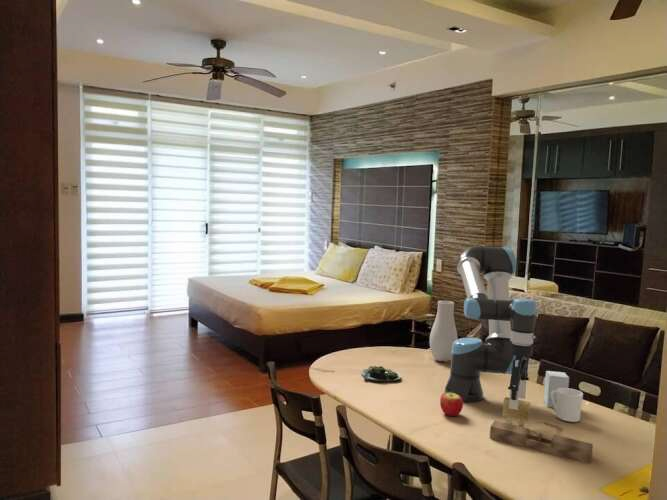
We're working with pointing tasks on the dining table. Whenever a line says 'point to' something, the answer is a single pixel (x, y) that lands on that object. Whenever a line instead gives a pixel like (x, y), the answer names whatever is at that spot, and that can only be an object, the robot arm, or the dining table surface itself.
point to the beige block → (516, 412)
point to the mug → (568, 404)
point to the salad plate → (380, 375)
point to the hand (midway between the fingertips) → (517, 403)
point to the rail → (542, 442)
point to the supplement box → (554, 385)
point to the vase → (443, 332)
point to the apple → (451, 403)
